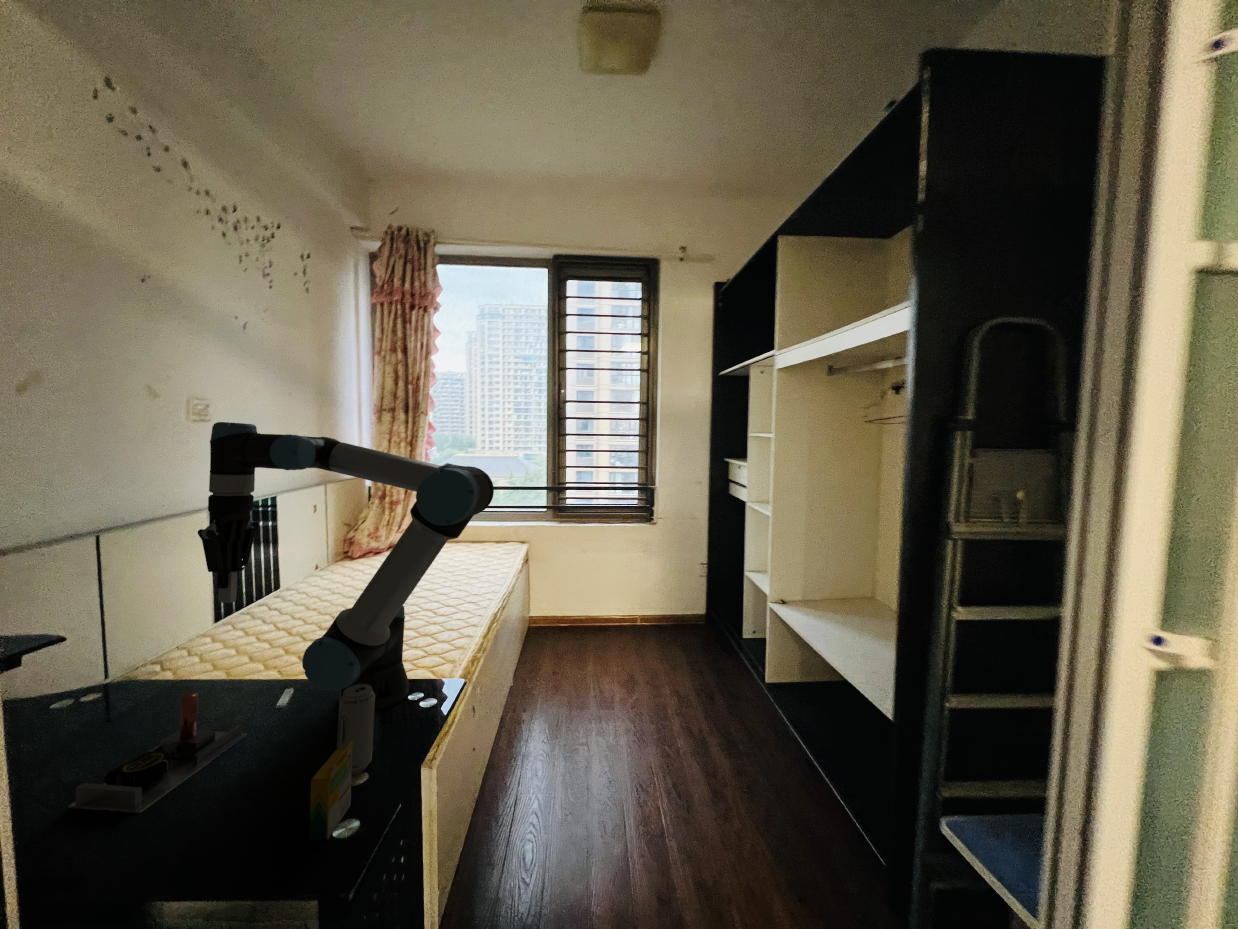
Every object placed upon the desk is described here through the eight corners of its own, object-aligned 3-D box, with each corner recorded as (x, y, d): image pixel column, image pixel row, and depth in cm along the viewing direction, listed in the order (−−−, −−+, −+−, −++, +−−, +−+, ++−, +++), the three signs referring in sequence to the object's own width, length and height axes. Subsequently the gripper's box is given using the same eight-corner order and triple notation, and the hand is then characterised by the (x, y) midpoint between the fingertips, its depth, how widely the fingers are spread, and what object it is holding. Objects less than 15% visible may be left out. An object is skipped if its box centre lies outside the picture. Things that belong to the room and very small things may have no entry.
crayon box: (333, 805, 79) (336, 738, 78) (351, 805, 79) (354, 738, 79) (307, 841, 71) (310, 767, 71) (327, 841, 72) (330, 767, 71)
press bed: (247, 735, 96) (247, 719, 96) (139, 813, 75) (140, 792, 75) (191, 731, 96) (191, 715, 96) (68, 808, 75) (69, 787, 75)
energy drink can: (330, 767, 88) (334, 690, 87) (363, 752, 92) (366, 679, 92) (344, 782, 84) (347, 701, 84) (377, 766, 89) (381, 689, 89)
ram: (214, 745, 91) (217, 691, 91) (189, 763, 86) (192, 705, 86) (180, 743, 91) (182, 688, 91) (153, 760, 86) (155, 702, 86)
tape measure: (151, 765, 85) (152, 745, 85) (179, 772, 84) (180, 752, 84) (103, 791, 78) (104, 769, 78) (132, 799, 77) (133, 777, 77)
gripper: (240, 490, 106) (236, 591, 106) (185, 495, 93) (181, 610, 93) (272, 492, 106) (267, 593, 106) (222, 497, 93) (217, 612, 93)
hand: (227, 601), depth 99 cm, fingers closed
